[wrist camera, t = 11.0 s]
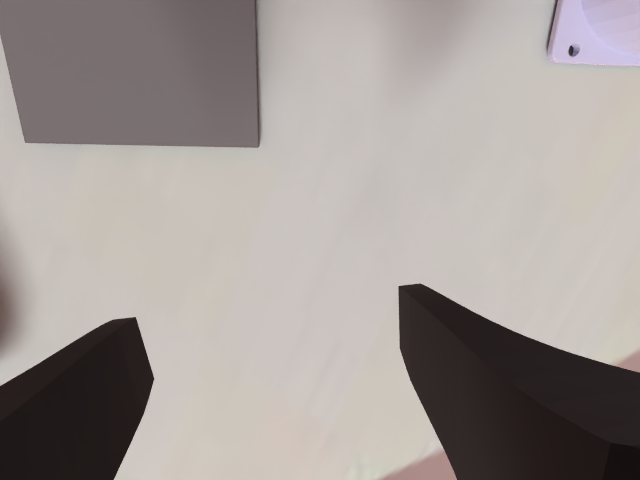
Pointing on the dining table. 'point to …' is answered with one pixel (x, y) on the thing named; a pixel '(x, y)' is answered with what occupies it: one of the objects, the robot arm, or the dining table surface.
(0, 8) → the mat
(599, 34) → the robot arm
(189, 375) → the dining table surface
